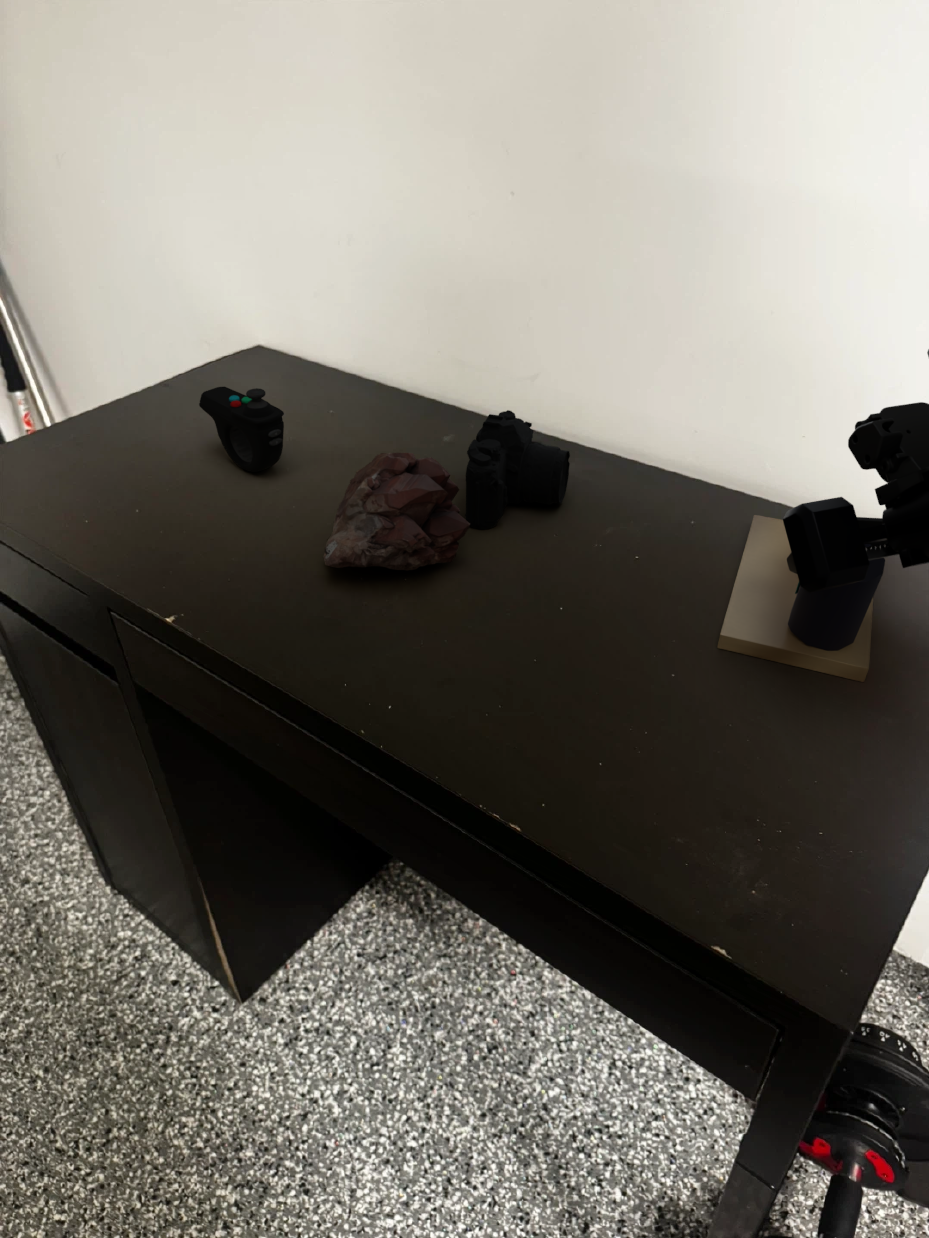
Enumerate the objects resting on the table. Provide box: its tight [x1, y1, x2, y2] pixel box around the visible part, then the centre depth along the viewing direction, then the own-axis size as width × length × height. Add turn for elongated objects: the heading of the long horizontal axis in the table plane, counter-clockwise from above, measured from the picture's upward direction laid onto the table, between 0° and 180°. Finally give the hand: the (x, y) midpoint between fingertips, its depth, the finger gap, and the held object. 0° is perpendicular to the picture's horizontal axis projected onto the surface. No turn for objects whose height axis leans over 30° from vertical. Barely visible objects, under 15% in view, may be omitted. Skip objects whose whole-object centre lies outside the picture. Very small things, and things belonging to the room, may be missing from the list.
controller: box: [198, 386, 285, 473], centre depth 101 cm, size 4×12×10 cm, turn 47°
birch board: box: [716, 514, 874, 683], centre depth 83 cm, size 12×22×2 cm, turn 158°
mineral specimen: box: [322, 452, 471, 572], centre depth 85 cm, size 12×13×15 cm
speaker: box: [788, 516, 888, 651], centre depth 73 cm, size 8×6×10 cm
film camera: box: [464, 409, 571, 530], centre depth 95 cm, size 15×10×9 cm, turn 163°
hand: (837, 555), depth 73 cm, fingers open, 9 cm apart
